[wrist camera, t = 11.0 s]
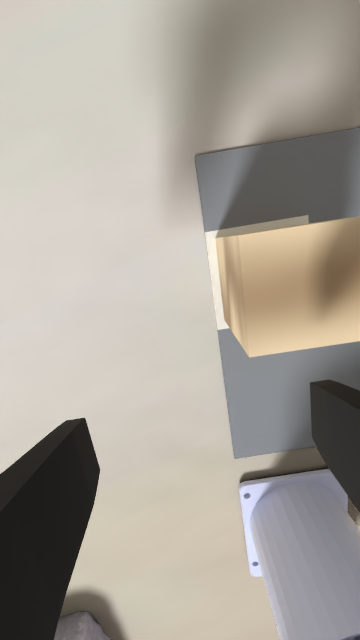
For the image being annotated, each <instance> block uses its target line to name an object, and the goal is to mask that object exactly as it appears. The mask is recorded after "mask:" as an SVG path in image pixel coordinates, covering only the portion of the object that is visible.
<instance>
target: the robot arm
mask: <svg viewBox="0 0 360 640" xmlns="http://www.w3.org/2000/svg"><path fill="white" fill-rule="evenodd" d="M310 402H311V426H312V438H313V440H314V442H315V444H316V446H317V448H318V450H319V452H320V454H321V455H322V457H323V459H324V461H325V463H326V464H327V466H328V468H329V469H323V470H316V471H310V472H303V473H297V474H290V475H283V476H277V477H270V478H263V479H257V480H250V481H244V482H242V483H240V485H239V494H240V502H241V509H242V517H243V525H244V532H245V540H246V548H247V555H248V563H249V570H250V574H251V575H252V576H254V577H258V576H263V579H264V583H265V586H266V590H267V594H268V598H269V601H270V605H271V609H272V612H273V616H274V620H275V623H276V627H277V631H278V635H279V638H280V640H360V531H359V529H358V528H357V526H356V525H355V523H354V521H353V520H352V518H351V517H350V515H349V514H348V497H349V498H350V499H351V501H352V502H353V504H354V505H355V506H356V508H357V509H358V511H359V512H360V391H359V390H357V389H354V388H352V387H349V386H347V385H344V384H341V383H339V382H336V381H333V380H322V381H316V382H310ZM99 474H100V468H99V464H98V461H97V457H96V454H95V451H94V447H93V444H92V440H91V437H90V433H89V430H88V426H87V423H86V420H85V418H80V419H74V420H67V421H65V422H64V423H62V424H61V425H60V426H58V427H57V428H56V429H54V430H53V431H52V432H51V433H49V434H48V435H47V436H46V437H45V438H43V439H42V440H41V441H40V442H39V443H37V444H36V445H35V446H34V447H33V448H32V449H30V450H29V451H28V452H27V453H26V454H24V455H23V456H22V457H21V458H20V459H18V460H17V461H16V462H15V463H14V464H12V465H11V466H10V467H9V468H8V469H6V470H5V471H4V472H3V473H1V474H0V640H54V637H55V633H56V629H57V624H58V620H59V616H60V613H61V609H62V605H63V602H64V598H65V595H66V591H67V588H68V585H69V582H70V579H71V576H72V572H73V569H74V566H75V563H76V560H77V557H78V553H79V550H80V547H81V544H82V541H83V538H84V534H85V531H86V528H87V525H88V521H89V518H90V515H91V512H92V508H93V505H94V501H95V496H96V491H97V485H98V479H99ZM246 493H248V494H246Z"/></svg>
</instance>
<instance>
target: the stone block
mask: <svg viewBox="0 0 360 640" xmlns="http://www.w3.org/2000/svg"><path fill="white" fill-rule="evenodd" d="M54 640H111V638H110V637H108V636H106V635H105V633H104V632H103V631H102V628H101V627H100V625H99V624H98V623H97V622H95V621H94V620H93V618H92V616H91V615H90V613H88V612H86V611H83V612H77V613H73V614H70V615H67V616H63V617H60V618H59V620H58V624H57V629H56V633H55V637H54Z"/></svg>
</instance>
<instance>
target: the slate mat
mask: <svg viewBox="0 0 360 640" xmlns="http://www.w3.org/2000/svg"><path fill="white" fill-rule="evenodd" d="M195 162H196V169H197V177H198V184H199V192H200V200H201V207H202V215H203V222H204V230H205V238H206V245H207V253H208V261H209V268H210V276H211V283H212V291H213V299H214V306H215V314H216V322H217V329H218V337H219V344H220V352H221V360H222V367H223V375H224V383H225V390H226V398H227V405H228V413H229V421H230V428H231V436H232V444H233V451H234V458H235V459H237V458H243V457H250V456H257V455H263V454H270V453H276V452H283V451H289V450H296V449H302V448H309V447H316V444H315V442H314V440H313V438H312V426H311V402H310V382H316V381H322V380H333V381H336V382H339V383H341V384H344V385H347V386H349V387H352V388H354V389H357V390H359V391H360V341H357V342H350V343H343V344H337V345H330V346H323V347H316V348H310V349H303V350H296V351H290V352H283V353H276V354H269V355H263V356H256V357H249V356H248V355H247V353H246V352H245V350H244V349H243V347H242V346H241V344H240V343H239V341H238V340H237V338H236V337H235V335H234V334H233V332H232V331H231V329H230V328H229V326H228V325H227V323H226V322H225V320H224V313H223V304H222V296H221V287H220V278H219V269H218V260H217V251H216V242H215V238H218V237H225V236H231V235H238V234H244V233H250V232H257V231H263V230H270V229H276V228H282V227H289V226H295V225H302V224H309V223H316V222H323V221H330V220H338V219H345V218H352V217H359V216H360V127H359V128H353V129H347V130H342V131H336V132H330V133H324V134H318V135H313V136H307V137H301V138H295V139H290V140H284V141H278V142H272V143H266V144H261V145H255V146H249V147H243V148H237V149H232V150H226V151H220V152H214V153H209V154H203V155H197V156H195Z"/></svg>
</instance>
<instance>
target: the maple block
mask: <svg viewBox="0 0 360 640" xmlns="http://www.w3.org/2000/svg"><path fill="white" fill-rule="evenodd" d="M215 242H216V251H217V260H218V269H219V278H220V287H221V296H222V304H223V313H224V320H225V322H226V323H227V325H228V326H229V328H230V329H231V331H232V332H233V334H234V335H235V337H236V338H237V340H238V341H239V343H240V344H241V346H242V347H243V349H244V350H245V352H246V353H247V355H248V356H249V357H256V356H263V355H269V354H276V353H283V352H290V351H296V350H303V349H310V348H316V347H323V346H330V345H337V344H343V343H350V342H357V341H360V216H359V217H352V218H345V219H338V220H330V221H323V222H316V223H309V224H302V225H295V226H289V227H282V228H276V229H270V230H263V231H257V232H250V233H244V234H238V235H231V236H225V237H218V238H215Z"/></svg>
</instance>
